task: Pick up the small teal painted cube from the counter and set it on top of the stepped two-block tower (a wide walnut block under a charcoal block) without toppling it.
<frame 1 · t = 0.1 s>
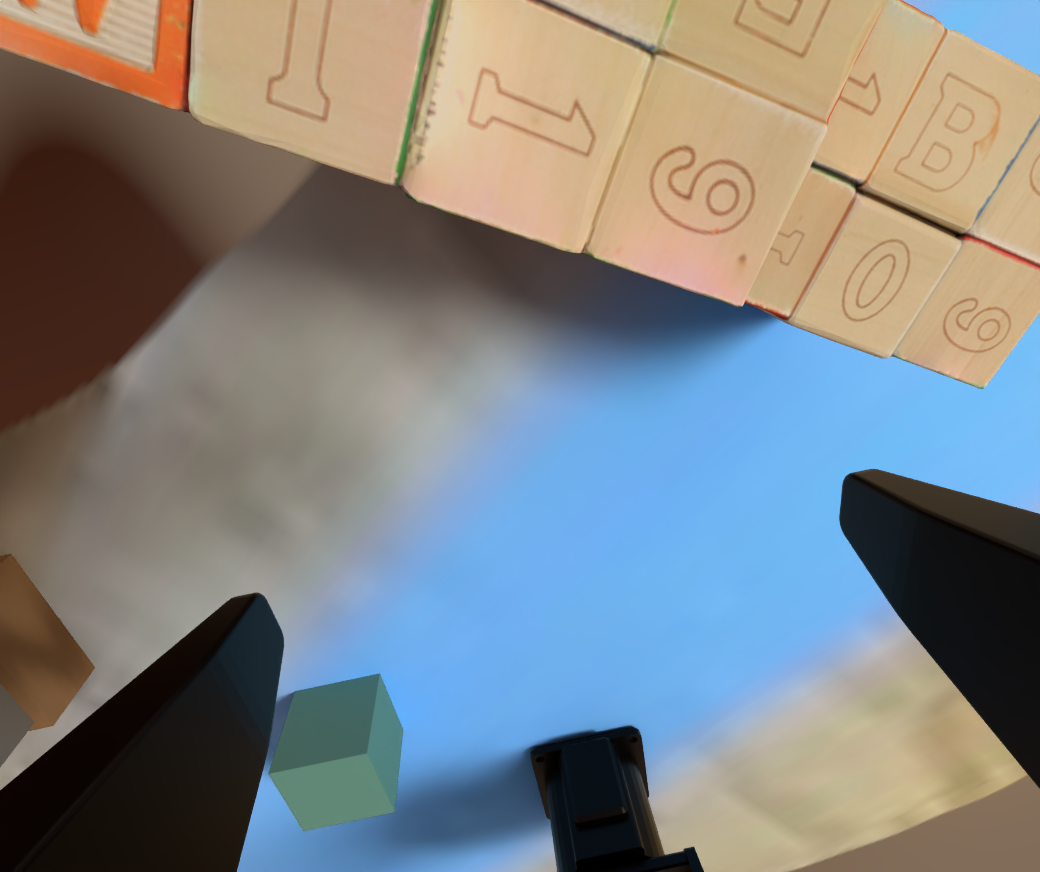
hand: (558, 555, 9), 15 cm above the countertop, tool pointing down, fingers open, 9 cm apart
stack of blocks: (581, 132, 20), on the countertop
teal block: (351, 709, 30), on the countertop
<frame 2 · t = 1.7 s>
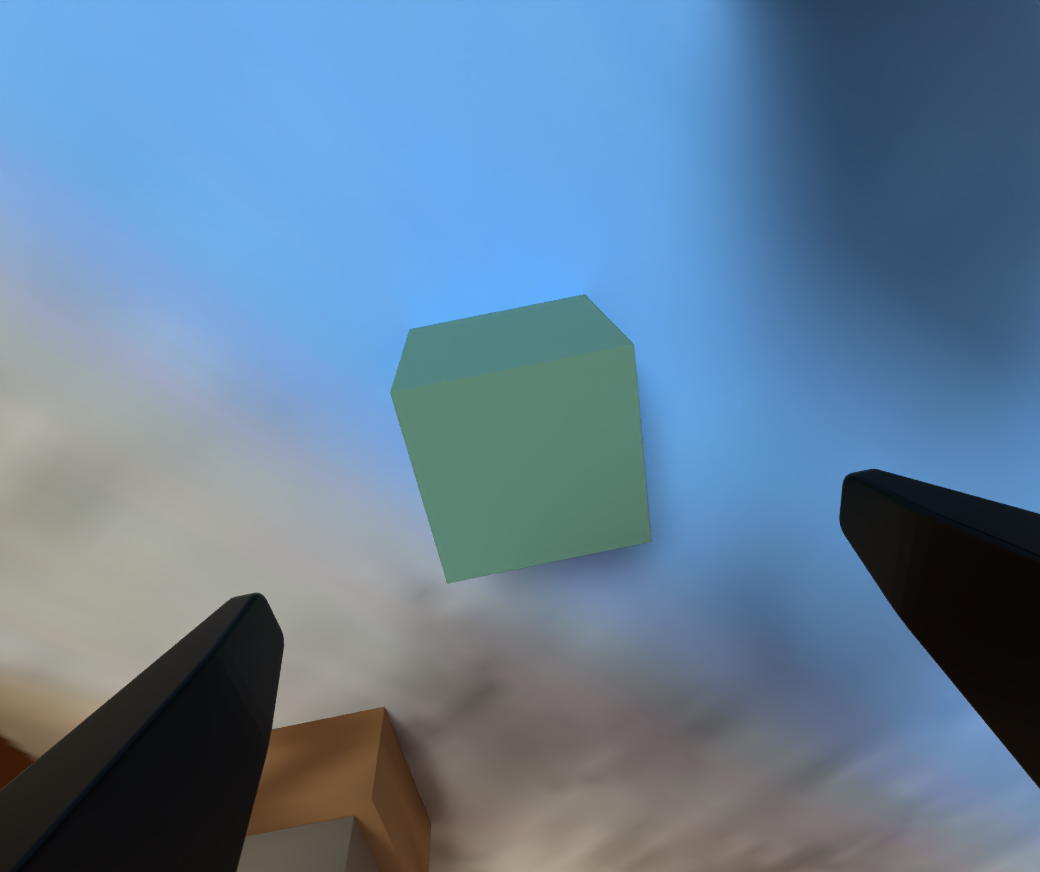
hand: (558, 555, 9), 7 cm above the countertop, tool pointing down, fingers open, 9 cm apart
walnut base block: (319, 780, 21), on the countertop, touching charcoal block
teal block: (513, 392, 15), on the countertop
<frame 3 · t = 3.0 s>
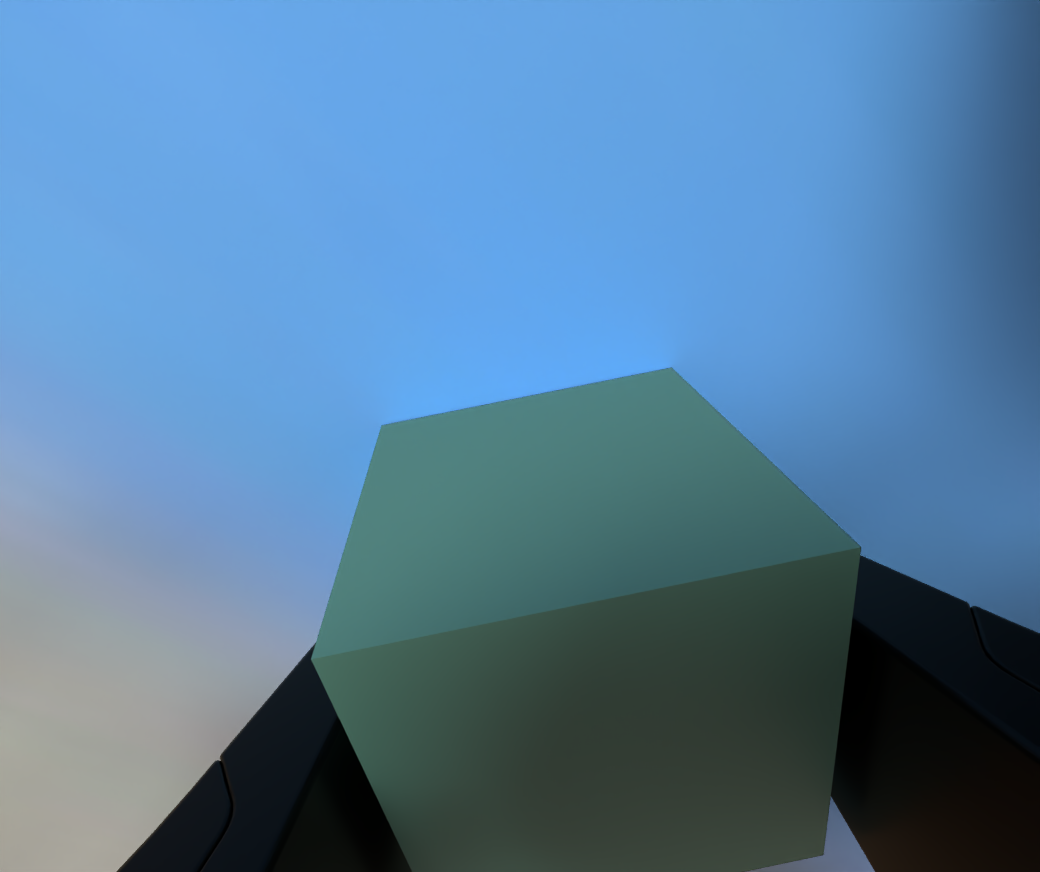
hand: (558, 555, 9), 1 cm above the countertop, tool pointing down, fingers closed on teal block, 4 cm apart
teal block: (548, 517, 10), on the countertop, touching gripper
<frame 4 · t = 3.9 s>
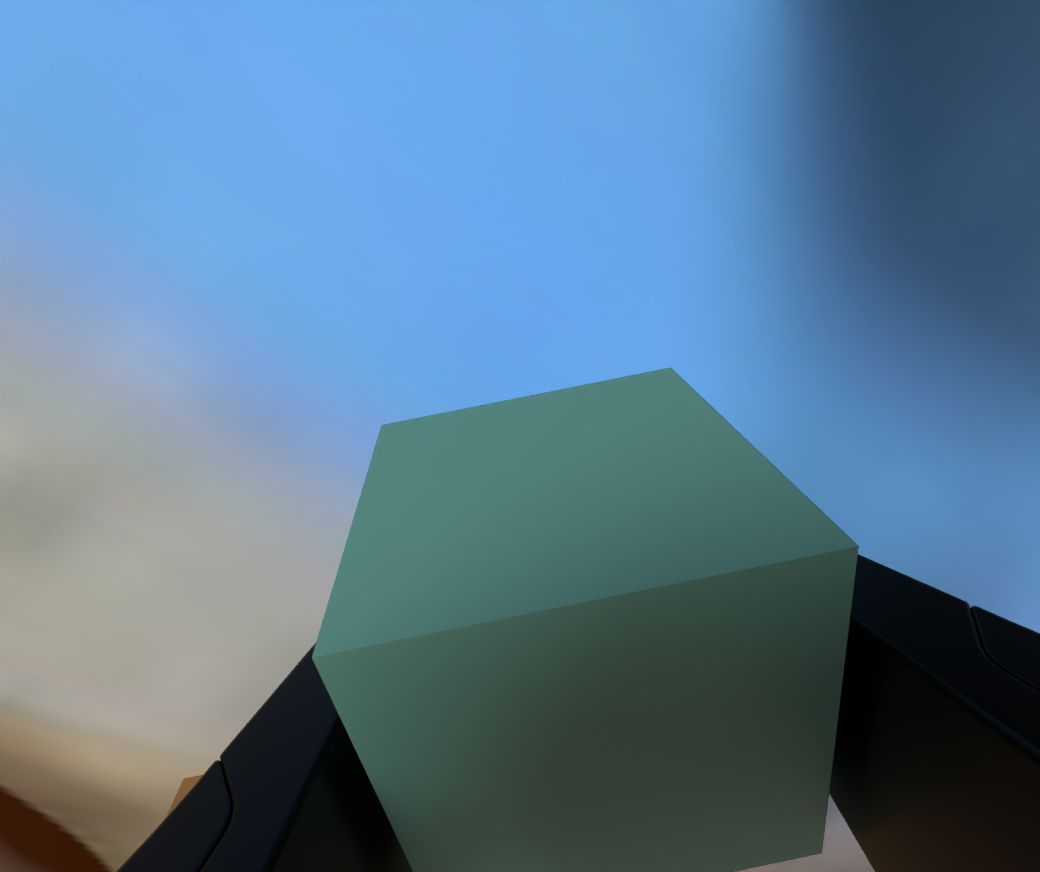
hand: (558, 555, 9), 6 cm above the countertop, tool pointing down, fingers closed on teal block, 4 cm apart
walnut base block: (325, 810, 20), on the countertop, touching charcoal block
teal block: (548, 516, 10), point 5 cm above the countertop, touching gripper
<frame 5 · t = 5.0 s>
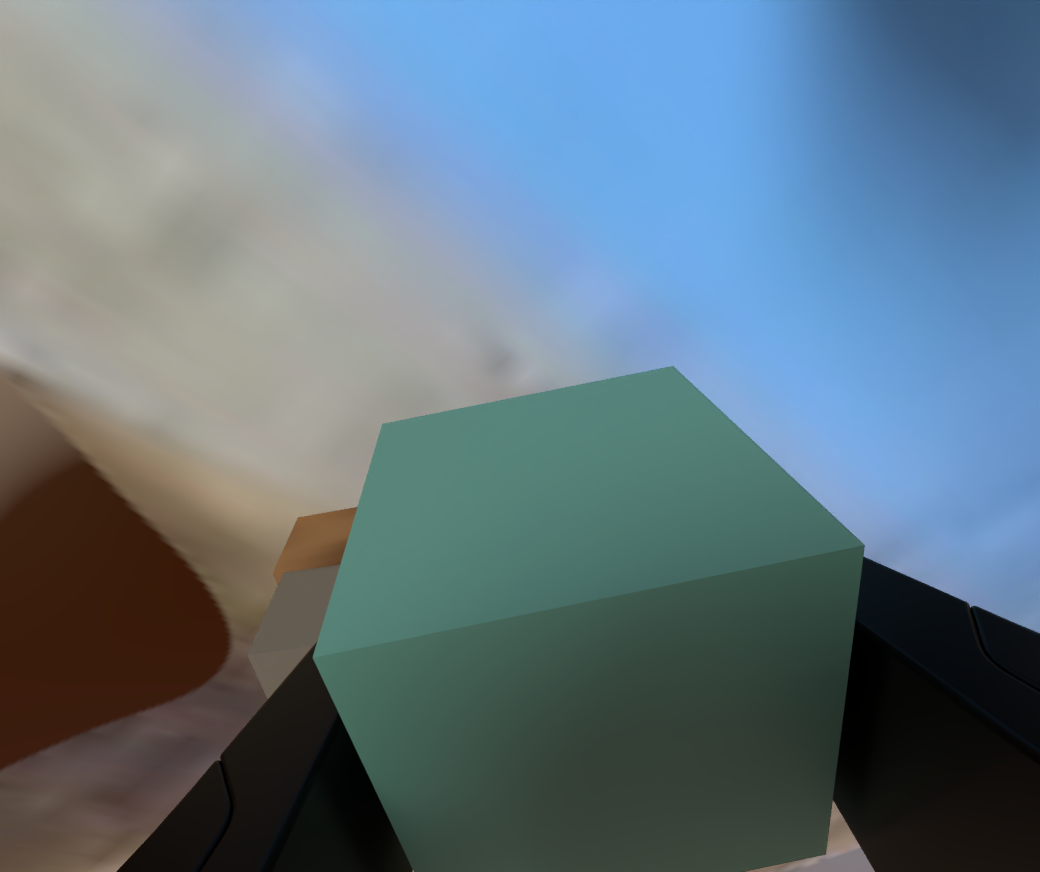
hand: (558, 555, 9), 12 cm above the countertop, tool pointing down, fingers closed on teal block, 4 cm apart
walnut base block: (409, 566, 24), on the countertop, touching charcoal block
charcoal block: (390, 624, 20), point 3 cm above the countertop, touching walnut base block
teal block: (550, 516, 10), point 11 cm above the countertop, touching gripper
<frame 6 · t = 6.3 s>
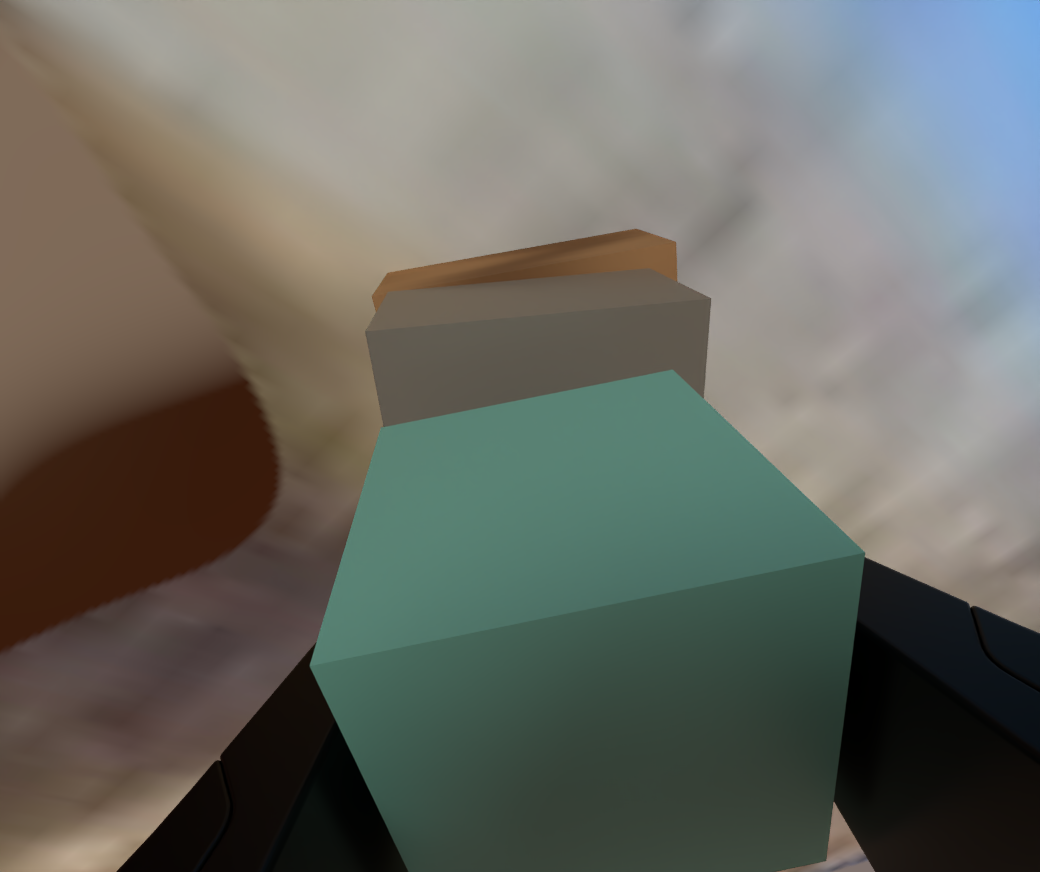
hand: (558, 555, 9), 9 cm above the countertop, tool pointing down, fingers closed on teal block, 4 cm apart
walnut base block: (529, 365, 17), on the countertop, touching charcoal block
charcoal block: (528, 401, 14), point 3 cm above the countertop, touching walnut base block
teal block: (549, 519, 9), point 8 cm above the countertop, touching gripper
when the fingers open (9 cm above the countertop, at t = 6.7 s): teal block drops 1 cm, resting on charcoal block.
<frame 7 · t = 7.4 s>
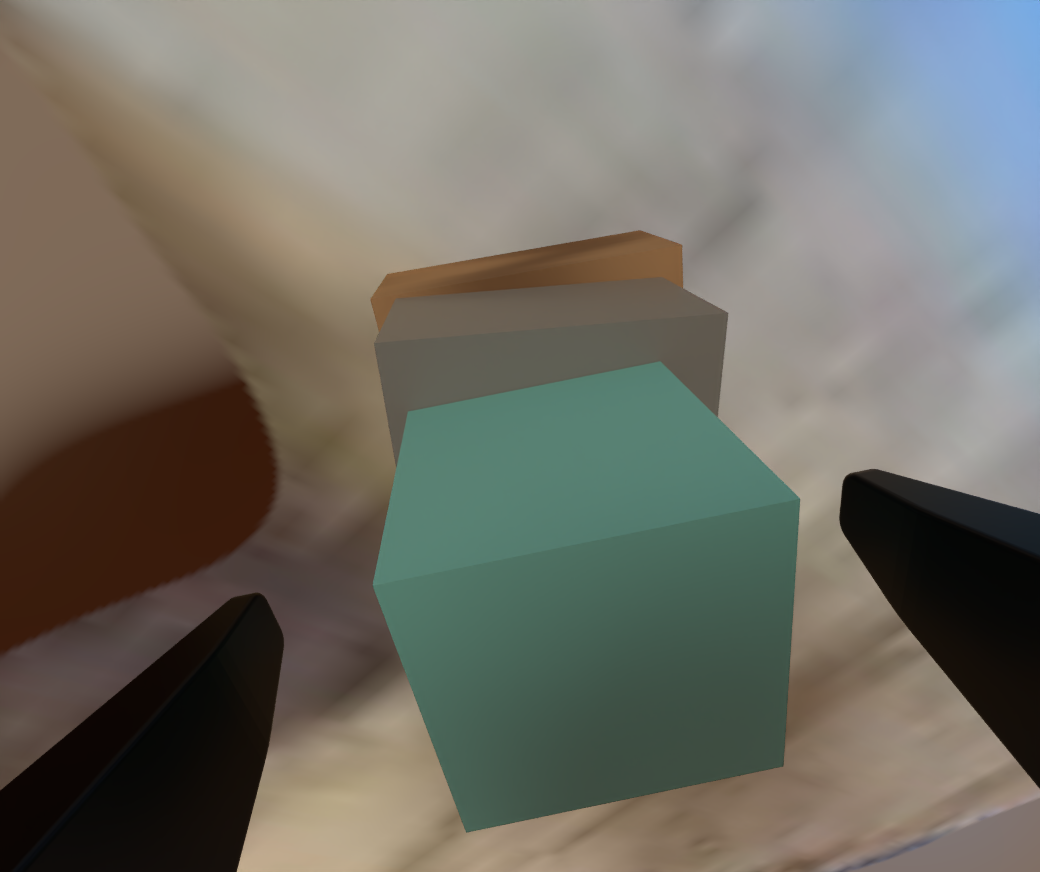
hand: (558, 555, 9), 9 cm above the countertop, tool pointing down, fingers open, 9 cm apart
walnut base block: (531, 369, 17), on the countertop, touching charcoal block
charcoal block: (537, 410, 14), point 3 cm above the countertop, touching teal block, walnut base block
teal block: (553, 493, 11), point 7 cm above the countertop, touching charcoal block
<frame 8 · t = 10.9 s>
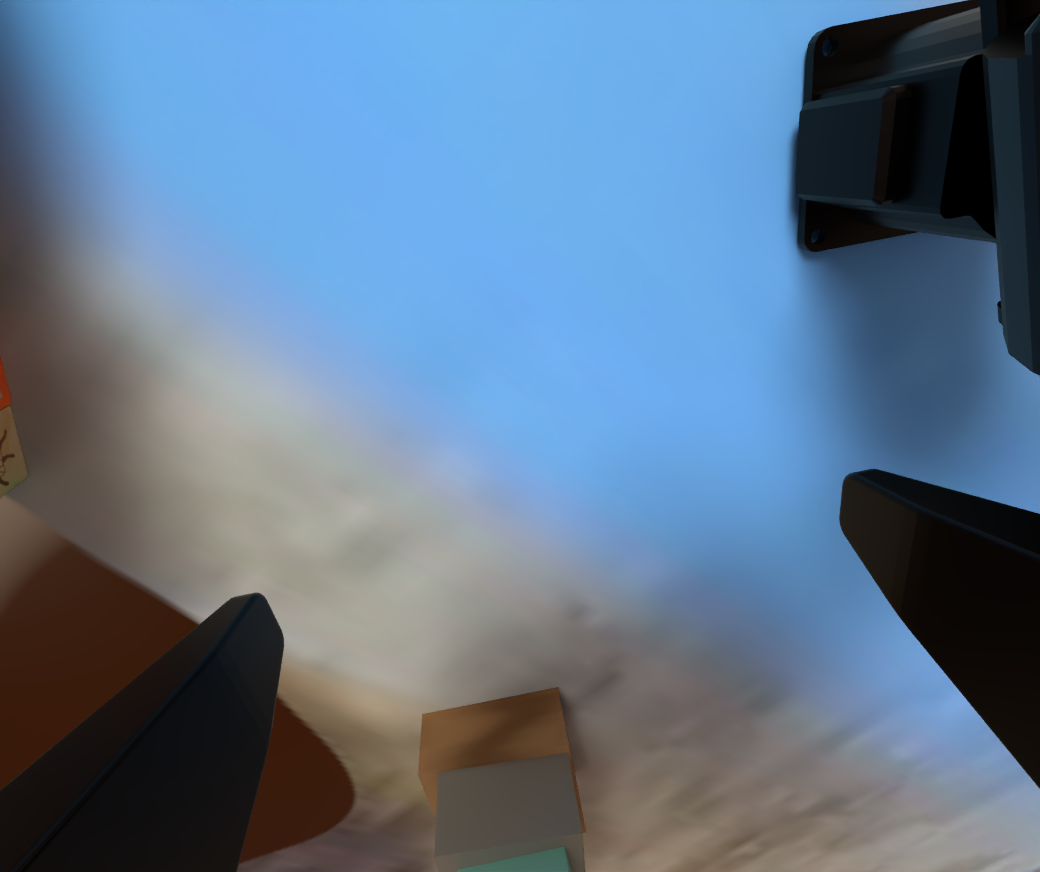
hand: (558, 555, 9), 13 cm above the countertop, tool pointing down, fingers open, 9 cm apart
walnut base block: (502, 739, 30), on the countertop, touching charcoal block
charcoal block: (509, 802, 27), point 3 cm above the countertop, touching teal block, walnut base block
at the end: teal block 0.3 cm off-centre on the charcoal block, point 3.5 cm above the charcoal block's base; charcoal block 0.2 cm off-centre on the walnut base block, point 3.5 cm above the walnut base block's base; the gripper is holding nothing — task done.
